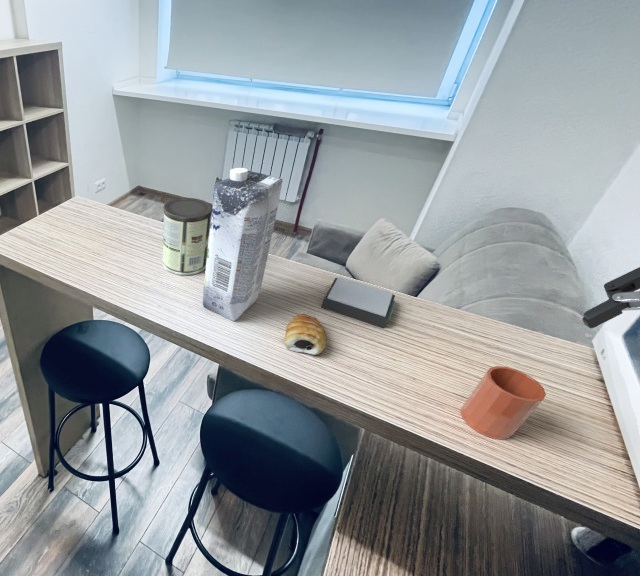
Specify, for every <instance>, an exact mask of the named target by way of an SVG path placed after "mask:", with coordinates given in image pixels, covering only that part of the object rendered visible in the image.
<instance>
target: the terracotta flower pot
mask: <svg viewBox="0 0 640 576" xmlns="http://www.w3.org/2000/svg"><path fill="white" fill-rule="evenodd" d="M546 396H547V393H546V391H545V388H544V386H542V385H541V384H540V383H539V381H538V380H536V379H534V378H533V377H532V376H531V375H529V374H527V373H525V372H523V371H520V370H518V369H515V368H513V367H509V366H502V365H501V366H500V365H495V366H492V367H489V368H488V370H486V372H485V374H484V375H483V377H482V378H481V380H479V382H478V383H477V385H476V386H475V388H474V389H473V391H472V392H471V394H470V395H469V397H468V398H467V399H466V401H465V402H464V403H463V405H462V406H461V408H460V415H461V418H462V420H463V421H464V422H465V424H466V425H467V426H469V427H470V428H471V429H472V430H474V431H475V432H476V433H479V434H480V435H482V436H485V437H487V438H490V439H494V440H508V439H510V438H511V437H512V436H513V435H514V434H515V433H516V432H517V431H518V430H519V428H520V427H521V426H522V425H523V424H524V422H526V420H527V419H529V417H530V416H531V415H532V413H534V411H535V410H536V409H537V408H538V407H539V405H540V404H541V403H542V402H543V401H544V400H545V398H546Z"/></svg>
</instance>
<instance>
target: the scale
mask: <svg viewBox="0 0 640 576" xmlns="http://www.w3.org/2000/svg"><path fill="white" fill-rule="evenodd" d="M395 298H396V295H395V294H394V292H392V291H388V290H385V289H381V288H378V287H376V286H375V287H374V286H371V285H368V284H365V283H361V282H359V281H354V280H351V279H348V278H344V277H340V276H338V277H334V279H333V281H332V283H331V285H330V287H329V289H328V290H327V293H326V294H325V296H324V297H323V300H322V303H321V306H320V308H321V309H324V310H327V311H331V312H332V313H333V312H334V313H336V314H339V315H342V316H345V317H347V318H351V319H354V320H357V321H359V322H363V323H366V324H368V325H369V324H370V325H372V326H375V327H377V328H380V329H384V328H385V326H386V324H387V323H389V322H390V320H391V318H392V315H393V312H394V308H395V305H396V303H397V301H395Z"/></svg>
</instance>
